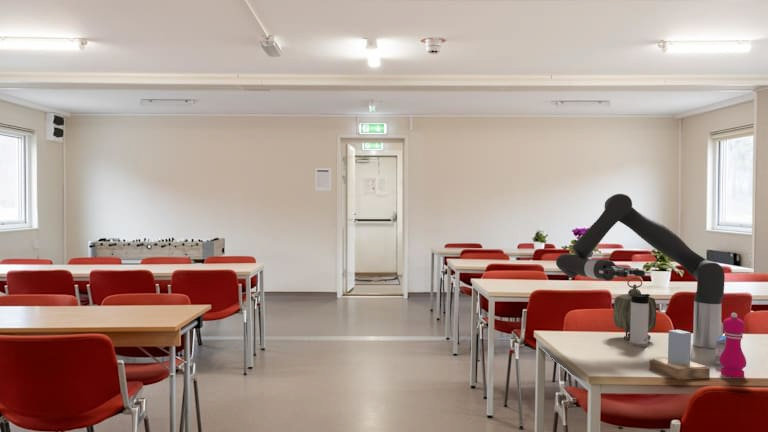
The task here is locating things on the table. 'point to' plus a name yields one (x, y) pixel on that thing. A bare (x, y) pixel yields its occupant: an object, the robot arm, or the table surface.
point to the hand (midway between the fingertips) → (635, 274)
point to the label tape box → (719, 349)
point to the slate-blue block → (679, 347)
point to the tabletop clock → (624, 310)
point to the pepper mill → (733, 348)
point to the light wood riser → (680, 369)
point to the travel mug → (639, 320)
